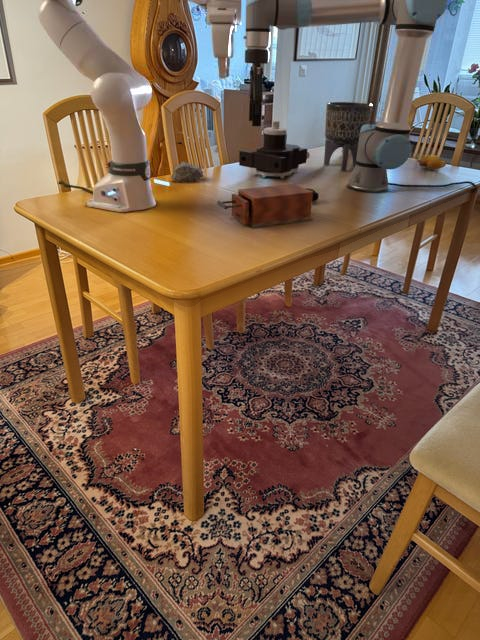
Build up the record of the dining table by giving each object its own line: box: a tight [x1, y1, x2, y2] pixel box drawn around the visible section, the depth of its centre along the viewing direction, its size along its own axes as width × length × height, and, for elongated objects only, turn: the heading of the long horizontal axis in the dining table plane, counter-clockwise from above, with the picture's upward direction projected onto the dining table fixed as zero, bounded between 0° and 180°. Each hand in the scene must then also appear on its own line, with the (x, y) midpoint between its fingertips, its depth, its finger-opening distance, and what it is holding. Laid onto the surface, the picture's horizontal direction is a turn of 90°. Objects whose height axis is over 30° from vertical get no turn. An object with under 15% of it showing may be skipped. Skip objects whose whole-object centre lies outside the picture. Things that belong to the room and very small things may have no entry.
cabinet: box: [237, 183, 313, 228], centre depth 139 cm, size 20×11×9 cm, turn 115°
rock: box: [170, 161, 204, 183], centre depth 180 cm, size 13×9×6 cm, turn 131°
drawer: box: [216, 193, 252, 226], centre depth 137 cm, size 24×10×7 cm, turn 115°
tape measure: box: [304, 187, 319, 202], centre depth 158 cm, size 7×7×4 cm
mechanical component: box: [238, 120, 311, 179], centre depth 191 cm, size 22×21×30 cm
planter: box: [323, 101, 374, 172], centre depth 204 cm, size 20×20×26 cm
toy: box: [417, 154, 447, 171], centre depth 211 cm, size 11×6×15 cm
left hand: (224, 77), depth 123 cm, fingers open, 8 cm apart
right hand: (254, 123), depth 150 cm, fingers open, 13 cm apart
